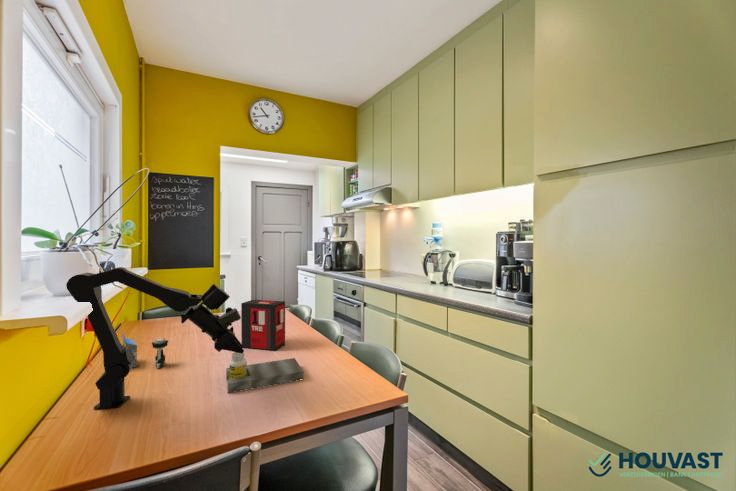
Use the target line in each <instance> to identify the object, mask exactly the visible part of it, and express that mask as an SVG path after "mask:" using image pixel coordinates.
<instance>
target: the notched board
mask: <svg viewBox="0 0 736 491" xmlns="http://www.w3.org/2000/svg"><path fill="white" fill-rule="evenodd" d="M302 368H303V367H301V365H300V364H299V362H298V361H297V360H296V358H295V357H292V358H288V359H287V358H286V359H279V360H273V361H266V362H265V361H264V362H259V363H254V364H253V363H252V364H247V377H240V378H234V379H230V367H226V369H225V370H226V374H225V377H226V381H227V386H226V387H227V394H230V393H229V392H233V393H235V392H234V391H238V392H241V391H240V390H244V391H246V390H245V389H250V390H252V389H251V388H255V389H258V388H257V387H261V388H264V387H263V386H267V387H269V386H268V385H272V386H275V385H274V384H278V385H281V384H280V383H284V384H286V383H285V382H289V383H291V382H290V381H295V382H297V381H296V380H300V379H304V378H305V377H304V376H305V374H304V372H305V371H304V370H303V369H302Z"/></svg>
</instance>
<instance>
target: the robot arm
mask: <svg viewBox="0 0 736 491" xmlns="http://www.w3.org/2000/svg"><path fill="white" fill-rule="evenodd" d="M112 283H119V284H122V285H124V286H127V287H129V288H131V289H134V290H136V291H139V292H141V293H143V294H146V295H148V296H150V297H153V298H156V299H157V300H159V301H160V302H161V303H163V304H164V305H165V306H166V307H168V308H170V309H171V310H173V311H174V312H178V313H180V318H181V321H180V322H181V324H184V323H185V322H186V321H187V320H189V321H190V322H191V323H193V324H194V325H195V326H197V327H198V328H199V329H201V332H202V333H203V334H206V335H208V336H209V337H211V340H212V341H213V342H214V344H213V345H214V350H216V351H217V352H218V353H220V352H221V351H222V350H223V351H229V352H233V353H235V352H237V353H243V352H244V353H245V350H244V348H242V347H243V346H242V342H240V340H239V339H238V337H236V335H235V334H236V333H235V332H234V326H233V323H235V322H238V321H239V320H241V315H240V313H239V311H238V309H237V308H235V307H234V308H232V307H230V306H229V307H226V308H225V313H223V314H222V315H218V314H214V313H213V312H212V311H214V310H216V311H217V310H218V309H220V307H221V306H223V304H225V303H226V302H227V300H229V298H230V297H231V296H230V295H229V293H227V292H226V291H225V290H224V289H223V288H220V287H219V286H217V285H216V284H215V283H212V284H211V286H210V287H209V288H208V289H207V290H206V291H205V292H204V293H203V294H192V293H190V292H189V291H187V290H183V289H179V288H176V287H175V288H174V287H168V286H165V285H163V284H160V283H158V282H156V281H153V280H151V279H149V278H146V277H145V276H142V275H141V274H140V275H139V274H137V273H136V272H132V271H131V270H128V269H127V268H126V267H122V266H118V267H114V268H113V269H109V270H106V271H102V272H97V273H92V272H83V273H79V274H75V275H73V276H71V277H70V278H68V280H67V282H66V284H65V285H66V289H67V291H68V293H70V295H71V296H72V298H73V299H74V300H75V301H76V303H78V302H90V303H91V304H92V308H93V311H92V312H91V313H90V314H89V315H88V316H87V315H86V317H87V318H88V321H89V323H90V326H91V328H92V330H93V332H94V334H95V337H96V339H97V341H98V343H99V346H100V348H101V351H102V353H103V354H102V355H103V356H102V358H103V361H102V362H103V368H104V372H103V373H102V375H100V377H99V378H98V379H97V380H96V382H95V386H96V387H97V388H96V389H97V390H98V392H99V395H98V396H99V398H98V399H99V402H98V403H97V404H95V405H94V406H93V410H100V409H116V408H119V407H121V406H122V405H123V404H124V403H125V402H127V401H129V399H130V398H131V395H126V393H125V392H126V391H125V390H126V389H125V378H126V377H128V376H129V373H130V371H131V370H133V368H132V367H133V365H134V359H135V357H136V356H135V355H134V354H133V353H132V349H131V346H129V347H127V348H125V347H124V346H123V343H121V342H120V341H121V340H120V339H119V337H118V334H117V332H116V329H115V328H114V326H113V323H112V321H111V319H110V317H109V314H108V312H107V309H106V307H105V305H104V302H103V298H102V293H103V292H102V290H103V289H102V287H103V286H106V285H109V284H112ZM194 306H195V307H194ZM183 312H185V313H183ZM229 327H230V328H229Z"/></svg>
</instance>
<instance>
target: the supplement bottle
mask: <svg viewBox="0 0 736 491" xmlns="http://www.w3.org/2000/svg"><path fill="white" fill-rule="evenodd" d="M247 365H248V362H247V359H246V358H245V351H244V352H243V353H237V352H233V353H231V360H230V361H229V368H230V379H234V378H240V377H247Z"/></svg>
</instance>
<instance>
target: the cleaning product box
mask: <svg viewBox="0 0 736 491" xmlns="http://www.w3.org/2000/svg"><path fill="white" fill-rule="evenodd" d="M240 309H241V311H240V312H241V315H240V317H241V319H240V320H241V326H240V327H241V344H242V346H243V347H242V349H247V350H248V349H249V350H257V351H258V350H259V351H268V352H277V351H278V350H280V349H281V348H283V347H285V346H286V301H283V300H280V301H278V300H263V299H251V300H248V301H244V302H241V308H240Z"/></svg>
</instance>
